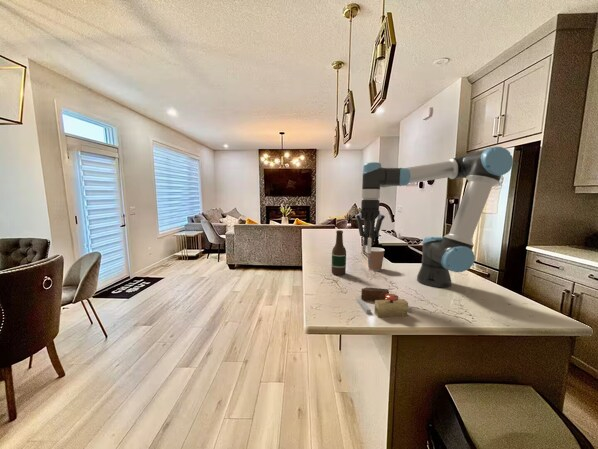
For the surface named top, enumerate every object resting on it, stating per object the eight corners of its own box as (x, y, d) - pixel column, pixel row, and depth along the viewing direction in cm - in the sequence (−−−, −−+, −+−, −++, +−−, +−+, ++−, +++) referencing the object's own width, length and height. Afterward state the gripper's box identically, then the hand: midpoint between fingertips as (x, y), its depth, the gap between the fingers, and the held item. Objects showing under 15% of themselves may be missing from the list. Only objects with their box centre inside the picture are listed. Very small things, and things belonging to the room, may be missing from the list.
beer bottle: (345, 276, 134) (346, 231, 131) (330, 275, 135) (331, 231, 132) (345, 271, 141) (347, 229, 139) (331, 271, 143) (332, 229, 140)
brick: (387, 299, 104) (388, 288, 103) (388, 303, 100) (388, 292, 99) (361, 296, 106) (361, 286, 106) (361, 300, 103) (361, 289, 102)
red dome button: (402, 311, 93) (403, 293, 92) (408, 316, 88) (409, 297, 88) (373, 312, 91) (374, 294, 91) (378, 318, 87) (379, 299, 86)
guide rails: (397, 300, 102) (397, 297, 102) (410, 311, 92) (411, 307, 92) (357, 302, 100) (357, 298, 100) (366, 313, 90) (366, 309, 90)
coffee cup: (368, 265, 155) (369, 246, 153) (385, 268, 149) (386, 248, 148) (363, 269, 146) (364, 249, 145) (381, 272, 141) (382, 251, 139)
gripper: (381, 199, 113) (378, 250, 115) (353, 199, 111) (351, 250, 114) (388, 199, 105) (385, 254, 108) (358, 199, 104) (356, 254, 106)
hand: (368, 252), depth 111 cm, fingers closed
